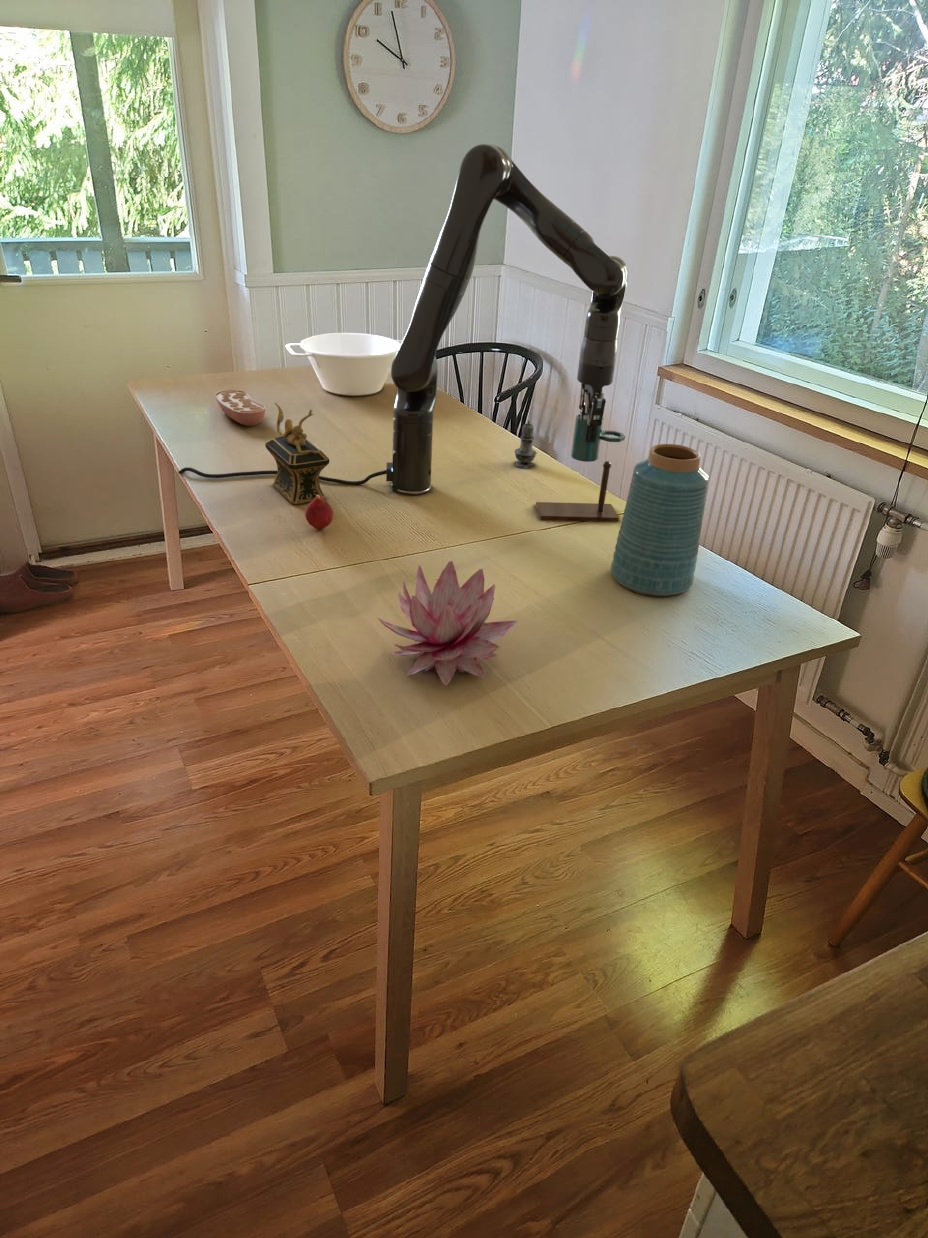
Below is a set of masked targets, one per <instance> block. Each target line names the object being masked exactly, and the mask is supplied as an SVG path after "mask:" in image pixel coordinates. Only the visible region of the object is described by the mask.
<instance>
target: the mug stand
mask: <svg viewBox="0 0 928 1238" xmlns="http://www.w3.org/2000/svg"><path fill="white" fill-rule="evenodd" d="M602 467H603V469H602V476H601V483H600V488H599V489H600V490H599V496H598V502H597V503H594V502H593V503H592V502H590V503H589V502H552V501H551V502H550V501H536V502H535V508H536V512H537V514H538V517H539V518H540V521H568V522H569V521H571V522H572V521H575V522H613V523H614V522H615V523H618V522H619V520H620V517H619V514H618V513H617V512H616V510H615V508H614V507H613V504H612V503H606V495H607V489H608V483H609V482H608V481H609V476H610V470H611V468H612V463H611V462H610V461H608V460H606V461H604V462H603V463H602Z"/></svg>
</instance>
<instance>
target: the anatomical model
mask: <svg viewBox="0 0 928 1238" xmlns="http://www.w3.org/2000/svg"><path fill="white" fill-rule="evenodd" d="M214 397H215V400H216V402H217V404H218V406H219V408H220V409H221V410H222V412H223V413H224V414H225V415H226V416H227V417H229V418H230V419H232V420H233V421H234V422H237V423H238V424H240V425H243V426H246V427H253V426H256V425H258V424H259V423H261V422H262V421H263V419H264V417H265V415H266V406H265V405H263V404H261V403H259V402H257V401H256V400H254V399H253V397H251V396H250V395H249V394H248V392H247V391H244V390H241V389H225V390H219V391H217V392H216V393H215V395H214Z"/></svg>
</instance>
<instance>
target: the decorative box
mask: <svg viewBox="0 0 928 1238" xmlns="http://www.w3.org/2000/svg"><path fill="white" fill-rule="evenodd" d="M274 404H275V406H276V407H277V409H278V415H277V419H276V424H275V425H276V431H277V433H278V434H277V435H279V436H275V437H272V438H271V439H269V440H268V441H266V442H265V444H264V447H265V449H266V450H267V451H268V452H269V454H270V455H271V456H272V457H273V458H274V461H275V463H276V469H277V470H276V471H277V474H276V476H275V478H274V481H273V483H272V486H273V488H275V489H276V490H277V492H279V493H280V494H281V495H282V496H283V497H284V498H285V499H286V500H287V501H288V502H290V503H291V504H294V505H299V504H306V503H310V502H311V501H313V500H314V499H315V498H316V495H319V496H320V497H321V498H322V499H324V500H325V498H326V496H325V494H324V492H323V490H322V488H321V486H320V480H319V476H320V475H321V472H322V471H323V470H324V469H325V468H326V467H327V466H328V465H329V464H330V458H329V457H328V455H326V454H325V453H324V452H323V451H322V450H321V449H320V448H319V447H318V446H316V445H315V444H314V443H312V442H311V441H310V440H309V439H307V438H308V436H307V434H306V433H304V429H303V428H302V425H303V423H304V422H305V421H306V420H307V419H308V418H310V417H312V416H314V413H313V409H309V411H308V415H306V416H303V417H302V418H301V419H300V420H299V422H298V423H297V425H294V426H293V420H292V419H291V418H287V419H286V420H285V422H284V416H285V414H284V411H283V409H282V408H281V406H280V405H278V403H276V402H274ZM282 422H284V433H282V432H281V423H282Z"/></svg>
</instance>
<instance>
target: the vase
mask: <svg viewBox="0 0 928 1238" xmlns="http://www.w3.org/2000/svg"><path fill="white" fill-rule="evenodd" d="M700 463H701V453H700V452H698V451H697V449H694V448H692V447H689V446H686V445H681V444H674V443H660V444H655V445H653V446H652V447H651V448H650V452H649V455H648V458H646V459H643V460H641V461H639V462H638V463H636V464H635V465H634V468H633V473H632V477H631V482H630V485H629V489H628V494H627V498H626V502H625V507H624V511H623V514H622V519H621V525H620V527H619V531H618V536H617V538H616V543H615V547H614V553H613V556H612V560H611V563H610V564H611V565H610V573H611V575H612V577H613V579H615V581H616V582H618V583H619V584H620V585H621V586H623V587H624V588H626V589H627V590H629V591H632V592H634V593H637V594H640V595H644V596H650V597H671V596H676V595H679V594H682V593H684V592H686V591H687V590H689V589H690V588H691V587H692V586H693V583H694V580H695V579H694V578H695V573H696V567H697V566H696V565H697V561H698V555H699V547H700V540H701V539H700V538H701V532H702V525H703V520H704V513H705V508H706V501H707V495H708V494H707V493H708V487H709V484H710V476H709V473H708V472H707V471H706V470H705V469H703V468H702V467H701V466H700Z"/></svg>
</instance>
